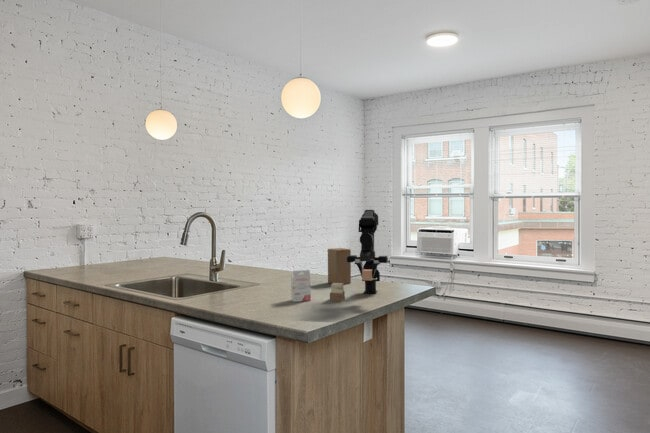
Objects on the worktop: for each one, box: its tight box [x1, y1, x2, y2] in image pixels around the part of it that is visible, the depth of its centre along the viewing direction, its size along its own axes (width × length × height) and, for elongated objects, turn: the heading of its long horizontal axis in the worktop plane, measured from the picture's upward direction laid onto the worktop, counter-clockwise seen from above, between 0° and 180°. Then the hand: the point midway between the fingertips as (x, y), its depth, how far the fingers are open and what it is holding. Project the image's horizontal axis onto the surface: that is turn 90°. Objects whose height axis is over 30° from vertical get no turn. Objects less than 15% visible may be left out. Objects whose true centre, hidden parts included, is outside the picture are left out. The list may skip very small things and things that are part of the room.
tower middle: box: [330, 283, 345, 293], centre depth 223 cm, size 5×5×4 cm
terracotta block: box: [361, 269, 373, 281], centre depth 217 cm, size 4×4×4 cm
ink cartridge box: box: [290, 269, 312, 302], centre depth 223 cm, size 9×5×15 cm, turn 105°
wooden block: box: [327, 247, 352, 285], centre depth 271 cm, size 10×10×20 cm
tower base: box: [329, 291, 346, 303], centre depth 223 cm, size 6×6×4 cm
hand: (367, 277), depth 217 cm, fingers closed on terracotta block, 4 cm apart
